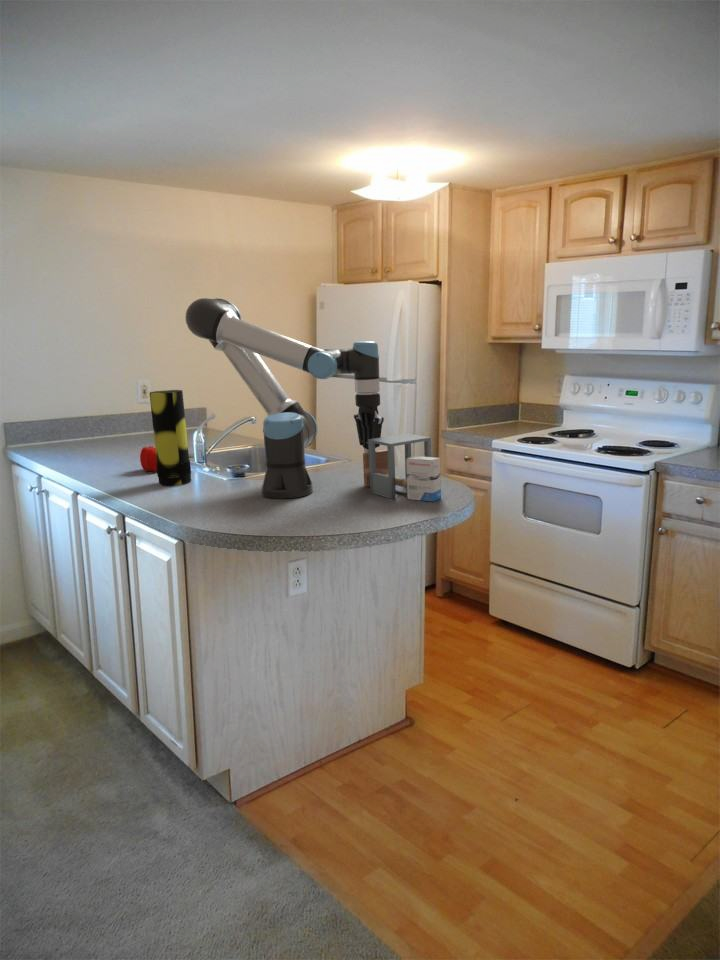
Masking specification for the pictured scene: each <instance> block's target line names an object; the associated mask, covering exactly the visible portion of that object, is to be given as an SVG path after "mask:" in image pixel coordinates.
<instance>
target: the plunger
mask: <svg viewBox="0 0 720 960" xmlns="http://www.w3.org/2000/svg"><path fill="white" fill-rule="evenodd" d="M375 459H376V473H380V474H383V475H387V476H388V451H387V449H380V450H375ZM362 462H363V463H362V466H363V486H364V487H370V471H369V453H365V452H363V453H362ZM395 486H398V487H401V488H405V489H407V479H406V478H402V477H400V476H396V475H395Z"/></svg>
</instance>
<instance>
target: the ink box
mask: <svg viewBox="0 0 720 960" xmlns="http://www.w3.org/2000/svg"><path fill="white" fill-rule="evenodd" d="M406 470H407V488H406V491H407V493H406V494H407V495H406V496H407V500H413V501H421V502H423V501H424V502H432V503H433V502H436V501H438V500H440V499H442V486H441V483H442V482H441V481H442V480H441V457H432V456H431V457H425V456H420V455H414V456H411V457H410V458H407V459H406Z"/></svg>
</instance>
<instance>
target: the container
mask: <svg viewBox="0 0 720 960" xmlns="http://www.w3.org/2000/svg"><path fill="white" fill-rule="evenodd" d="M149 400H150V401H149V403H150V409H151V411H150V413H151V420H152V430H153V438H154V439H153V440H154V448H155V449H156V459H157V463H156V466H157V471H156V475H157V478H158V484H159V485H160V486H162V487H178V486H184V485H188V484H189V483H190V482H192V475H191V474H192V471H191V470H192V468H191V459H190V454H189V445H188V443H189V442H188V432H187V425H186V424H187V423H186V416H185V415H186V414H185V404H184V394H183V390H182V389H168V390H165V389H164V390H155V391H150V392H149Z"/></svg>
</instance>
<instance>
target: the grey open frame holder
mask: <svg viewBox="0 0 720 960" xmlns="http://www.w3.org/2000/svg"><path fill="white" fill-rule="evenodd" d="M422 442H423V446H424V447H423V448H424V449H423V450H424V454H423V456H424V457H432V437H431V436H424V435H419V434H413V433H401V434H395V435H387V436H381V437H380V438H374V439H368V446H369V471H370V486H369V491H370V492H369V493H371V494H375V495H378V496H382V497H385V498H388V499H392V500H395V499H396V498H397V497H396V496H397V494H396V487H397V486H396V485H395V476H396V466H395V465H396V464H395V463H396V460H395V457H396V455H395V447H397V446H403V445H404V467H405V479H407V470H406V459H407V458H410V457H412V444H416V443H422ZM375 444H380V446H385V447H387V448H386V450H387V451H388V476H387V475H383V474H380V473H376V459H375V451H376V448H375Z"/></svg>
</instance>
